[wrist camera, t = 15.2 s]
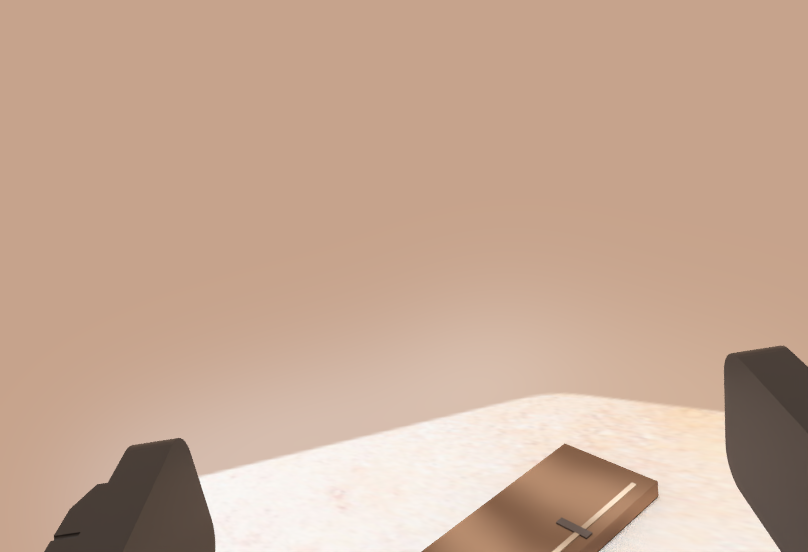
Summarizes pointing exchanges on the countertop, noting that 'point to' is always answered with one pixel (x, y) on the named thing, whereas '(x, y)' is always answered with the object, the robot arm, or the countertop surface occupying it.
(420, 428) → the countertop surface
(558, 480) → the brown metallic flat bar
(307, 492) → the countertop surface
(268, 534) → the countertop surface
